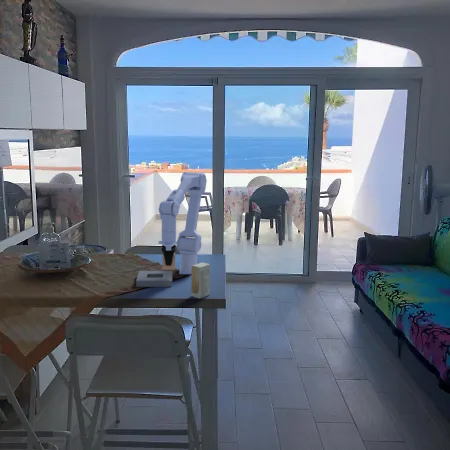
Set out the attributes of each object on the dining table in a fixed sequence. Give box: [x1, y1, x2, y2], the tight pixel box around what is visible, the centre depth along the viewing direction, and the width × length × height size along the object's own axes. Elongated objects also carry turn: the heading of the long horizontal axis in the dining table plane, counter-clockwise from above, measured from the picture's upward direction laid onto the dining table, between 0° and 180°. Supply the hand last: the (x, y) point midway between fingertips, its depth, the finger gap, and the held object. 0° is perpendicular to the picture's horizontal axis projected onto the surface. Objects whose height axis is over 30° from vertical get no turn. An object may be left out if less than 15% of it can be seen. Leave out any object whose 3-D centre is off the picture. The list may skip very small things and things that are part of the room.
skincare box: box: [190, 261, 211, 299], centre depth 182 cm, size 6×4×12 cm
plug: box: [162, 252, 176, 271], centre depth 194 cm, size 4×5×8 cm
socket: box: [135, 270, 173, 288], centre depth 198 cm, size 14×14×2 cm
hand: (168, 263), depth 194 cm, fingers closed on plug, 4 cm apart
